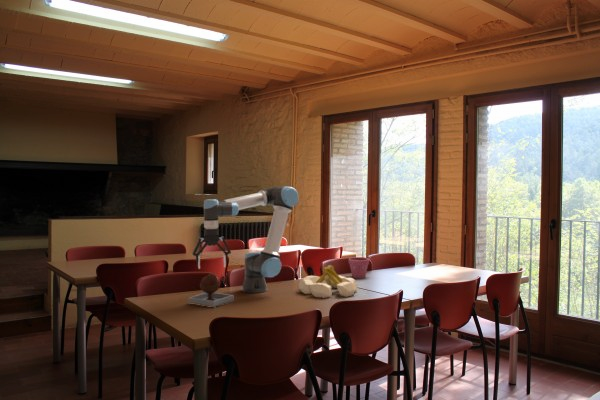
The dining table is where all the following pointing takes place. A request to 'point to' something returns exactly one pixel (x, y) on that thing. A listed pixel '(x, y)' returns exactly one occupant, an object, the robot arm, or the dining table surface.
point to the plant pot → (358, 267)
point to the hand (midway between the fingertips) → (212, 267)
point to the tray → (202, 300)
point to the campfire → (328, 284)
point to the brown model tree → (209, 285)
